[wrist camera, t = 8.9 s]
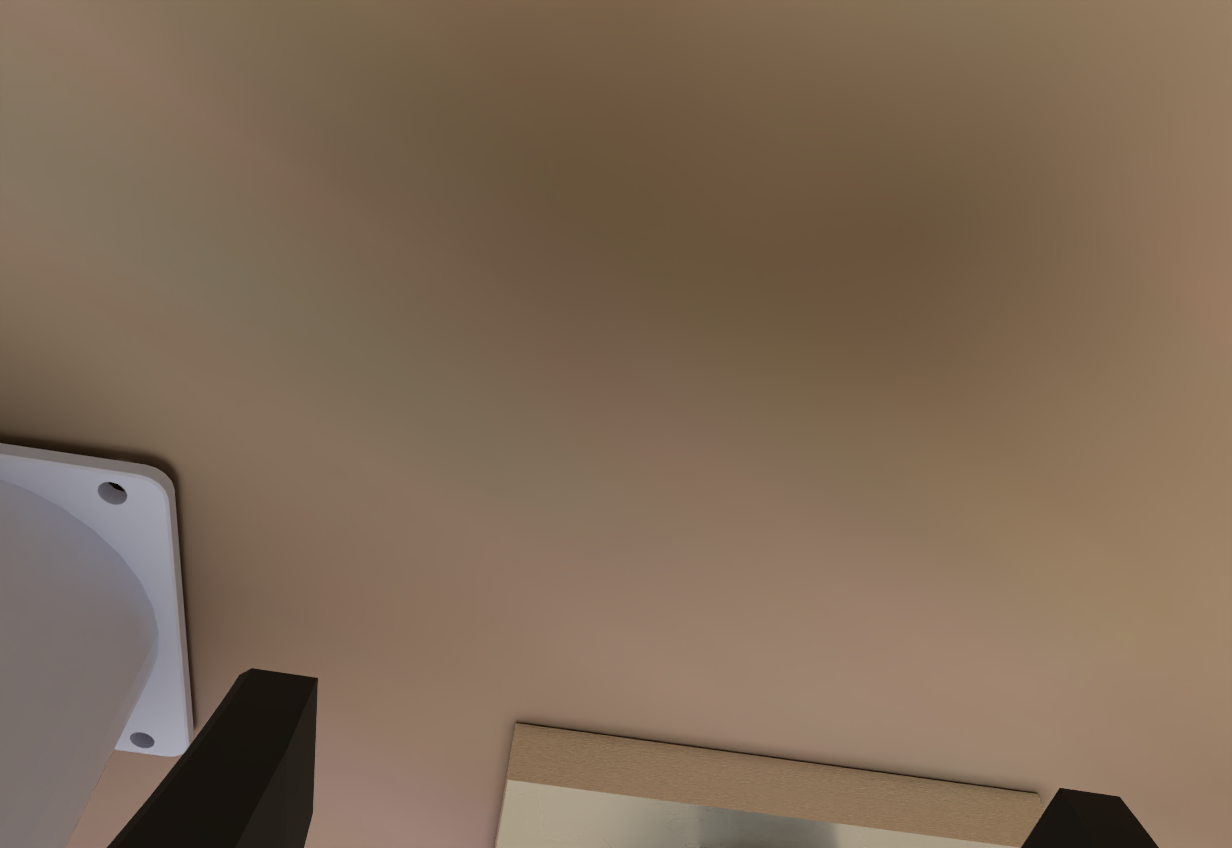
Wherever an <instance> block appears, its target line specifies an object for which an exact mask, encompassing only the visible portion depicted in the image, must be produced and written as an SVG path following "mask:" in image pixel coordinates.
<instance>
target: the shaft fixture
mask: <svg viewBox="0 0 1232 848" xmlns="http://www.w3.org/2000/svg"><path fill="white" fill-rule="evenodd" d="M1043 813H1044V810H1043V807H1042V804H1041V801H1040V797H1039V794H1034V793H1026V792H1019V791H1012V790H1004V789H997V788H989V787H982V786H975V785H967V784H960V783H953V782H945V781H938V780H931V779H923V778H916V777H909V776H901V775H894V774H887V773H879V772H872V771H864V770H857V769H850V768H842V767H835V766H828V765H820V764H813V763H806V762H798V761H791V760H784V759H776V758H769V757H761V756H754V755H747V754H739V753H732V752H725V751H717V750H710V749H703V748H695V747H688V746H681V745H673V744H666V743H658V742H651V741H644V740H636V739H629V738H622V737H614V736H607V735H600V734H592V733H585V732H578V731H570V730H563V729H555V728H548V727H541V726H533V725H526V724H519V723H516V724H515V729H514V735H513V741H512V747H511V753H510V758H509V764H508V770H507V776H506V782H505V787H504V793H503V799H502V805H501V811H500V816H499V822H498V828H497V834H496V840H495V845H494V848H1021V847H1022V845H1023V844H1024V842H1025V840H1026V839H1027V837H1028V836H1029V834H1030V833H1031V831H1032V830H1033V828H1034V827H1035V825H1036V824H1037V822H1038V821H1039V819H1040V818H1041V816H1042V814H1043Z"/></svg>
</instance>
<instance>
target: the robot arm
mask: <svg viewBox="0 0 1232 848" xmlns="http://www.w3.org/2000/svg"><path fill="white" fill-rule="evenodd" d="M108 482H113V483H115V484H118V485H120V486H121V487H122V488H123V489H125V491H120V490H117V489H115V488H113V487H112V486H111V485H110V484H109V483H108ZM317 685H318V678H314V677H307V676H300V675H294V674H287V673H280V672H273V671H267V670H260V669H253V668H252V669H250V670H248V671H246V672H244V673H242V674H240V675H239V677H238V678H237V680H236V681H235V683H234V684H233V686H232V687H231V689H230V690H229V692H228V693H227V695H226V696H225V698H224V699H223V701H222V702H221V703H220V705H219V706H218V708H217V709H216V710H215V712H214V713H213V715H212V716H211V717H210V719H209V720H208V722H207V723H206V724H205V726H204V727H203V729H202V730H201V731H200V733H199V734H198V735H197V737H196V738H195V739H194V741H193V742H192V739H193V736H194V728H193V715H192V703H191V690H190V678H189V665H188V652H187V640H186V627H185V615H184V602H183V589H182V577H181V564H180V552H179V539H178V526H177V514H176V501H175V489H174V486H173V483H172V481H171V480H170V479H169V477H168V476H167V475H166V474H165V473H163V472H162V471H160V470H159V469H157V468H155V467H152V466H148V465H145V464H138V463H131V462H124V461H118V460H111V459H104V458H97V457H91V456H84V455H77V454H71V453H64V452H57V451H50V450H44V449H37V448H30V447H23V446H17V445H10V444H3V443H0V848H65V847H66V845H67V843H68V841H69V839H70V837H71V835H72V833H73V831H74V829H75V827H76V825H77V823H78V821H79V819H80V817H81V815H82V813H83V811H84V809H85V807H86V805H87V803H88V801H89V799H90V797H91V795H92V793H93V791H94V789H95V787H96V784H97V782H98V780H99V778H100V776H101V774H102V772H103V770H104V768H105V766H106V764H107V762H108V760H109V758H110V756H111V754H112V752H113V750H121V751H129V752H136V753H144V754H152V755H159V756H171V757H175V756H178V755H182V754H183V755H182V757H181V758H180V759H179V760H178V762H177V763H176V764H175V766H174V767H173V768H172V769H171V771H170V772H169V773H168V774H167V776H166V777H165V778H164V779H163V781H162V782H161V783H160V785H159V786H158V787H157V788H156V790H155V791H154V792H153V793H152V795H151V796H150V797H149V798H148V800H147V801H146V802H145V803H144V804H143V806H142V807H141V808H140V809H139V810H138V812H137V813H136V814H135V815H134V816H133V817H132V819H131V820H130V821H129V822H128V823H127V825H126V826H125V827H124V828H123V829H122V830H121V832H120V833H119V834H118V835H117V836H116V838H115V839H114V840H113V841H112V842H111V844H110V845H109V846H108V847H107V848H304V845H305V841H306V837H307V833H308V829H309V825H310V822H311V818H312V814H313V793H314V766H315V739H316V712H317ZM191 742H192V743H191ZM190 744H191V745H190ZM1021 848H1159V847H1158V846H1157V845H1156V843H1155V842H1154V841H1153V839H1152V838H1151V837H1150V835H1149V834H1148V833H1147V832H1146V830H1145V829H1144V828H1143V826H1142V825H1141V824H1140V822H1139V821H1138V820H1137V818H1136V817H1135V816H1134V815H1133V813H1132V812H1131V811H1130V809H1129V808H1128V807H1127V806H1126V804H1125V803H1124V802H1123V801H1122V799H1121V798H1120V797H1118V796H1111V795H1104V794H1097V793H1091V792H1084V791H1077V790H1070V789H1064V788H1059V790H1058V792H1057V793H1056V795H1055V796H1054V798H1053V799H1052V801H1051V802H1050V804H1049V805H1048V807H1047V808H1046V810H1045V811H1044V813H1043V814H1042V816H1041V818H1040V819H1039V821H1038V822H1037V824H1036V825H1035V827H1034V828H1033V830H1032V831H1031V833H1030V834H1029V836H1028V837H1027V839H1026V840H1025V842H1024V844H1023V845H1022V847H1021Z"/></svg>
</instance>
